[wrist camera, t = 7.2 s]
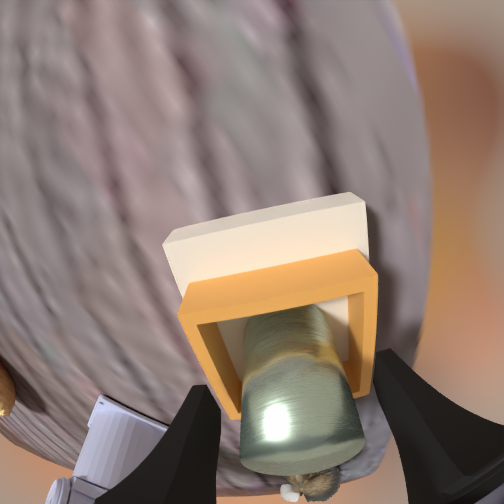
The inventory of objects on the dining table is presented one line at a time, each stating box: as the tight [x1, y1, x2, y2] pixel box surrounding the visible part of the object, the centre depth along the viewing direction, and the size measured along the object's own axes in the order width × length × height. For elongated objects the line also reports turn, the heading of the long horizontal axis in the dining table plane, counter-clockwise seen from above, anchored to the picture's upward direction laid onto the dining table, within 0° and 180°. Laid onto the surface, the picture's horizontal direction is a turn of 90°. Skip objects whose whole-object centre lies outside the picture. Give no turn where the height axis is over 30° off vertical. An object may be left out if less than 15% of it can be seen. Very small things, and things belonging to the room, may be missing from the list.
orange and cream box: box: [162, 192, 378, 420], centre depth 13 cm, size 12×9×4 cm
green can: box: [240, 304, 366, 476], centre depth 11 cm, size 4×4×7 cm
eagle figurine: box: [280, 469, 343, 502], centre depth 22 cm, size 8×7×9 cm
